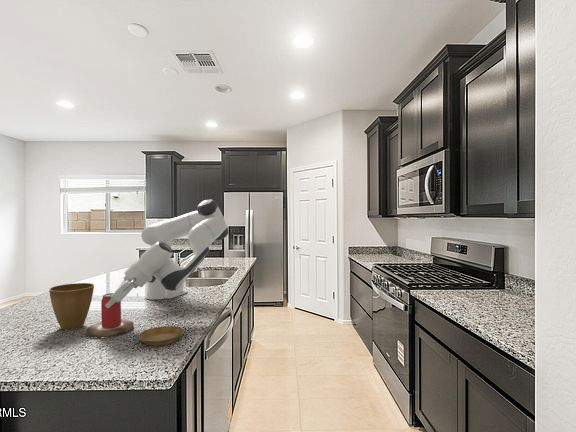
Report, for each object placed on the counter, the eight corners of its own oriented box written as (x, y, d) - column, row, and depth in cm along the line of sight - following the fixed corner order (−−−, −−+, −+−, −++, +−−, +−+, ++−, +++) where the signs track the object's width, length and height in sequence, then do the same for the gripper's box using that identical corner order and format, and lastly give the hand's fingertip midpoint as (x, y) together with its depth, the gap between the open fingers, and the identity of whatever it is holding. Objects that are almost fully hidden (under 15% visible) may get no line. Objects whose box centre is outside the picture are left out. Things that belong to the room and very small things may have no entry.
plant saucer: (168, 329, 127) (168, 323, 127) (192, 338, 118) (191, 331, 118) (130, 342, 115) (130, 334, 115) (153, 352, 106) (153, 344, 106)
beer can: (125, 324, 129) (124, 293, 129) (110, 329, 122) (110, 297, 122) (112, 322, 131) (112, 292, 131) (97, 327, 125) (97, 296, 125)
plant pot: (46, 336, 121) (45, 292, 121) (53, 324, 134) (52, 285, 134) (93, 329, 128) (93, 287, 128) (95, 318, 141) (95, 281, 141)
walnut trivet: (117, 321, 138) (117, 317, 138) (142, 327, 130) (142, 323, 129) (77, 333, 124) (77, 328, 124) (101, 341, 116) (101, 336, 116)
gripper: (140, 287, 120) (110, 317, 117) (144, 277, 140) (119, 302, 137) (126, 275, 119) (95, 305, 116) (133, 267, 138) (107, 293, 135)
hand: (108, 304), depth 126 cm, fingers closed on beer can, 7 cm apart
